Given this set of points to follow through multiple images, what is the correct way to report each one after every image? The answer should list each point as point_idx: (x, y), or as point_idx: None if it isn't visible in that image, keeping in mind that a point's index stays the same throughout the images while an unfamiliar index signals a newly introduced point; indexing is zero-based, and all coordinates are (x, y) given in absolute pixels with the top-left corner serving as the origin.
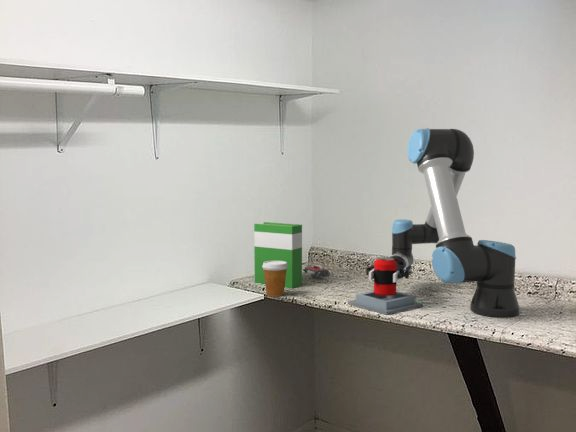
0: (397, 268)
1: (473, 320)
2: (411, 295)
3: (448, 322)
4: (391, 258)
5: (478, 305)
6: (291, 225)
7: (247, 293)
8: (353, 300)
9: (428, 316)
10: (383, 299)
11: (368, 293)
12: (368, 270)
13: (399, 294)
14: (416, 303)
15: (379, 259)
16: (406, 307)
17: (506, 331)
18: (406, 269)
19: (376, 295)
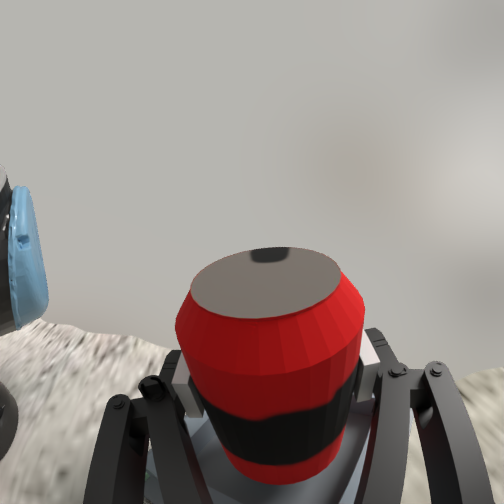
0: (191, 476)
1: (47, 370)
2: (153, 469)
3: (98, 351)
4: (214, 298)
5: (3, 392)
6: None
7: None
8: (410, 411)
9: (128, 380)
10: (307, 494)
11: (369, 431)
12: (418, 373)
13: (216, 491)
14: (146, 472)
15: (301, 251)
16: (185, 415)
17: (37, 331)
18: (113, 451)
19: (347, 484)
